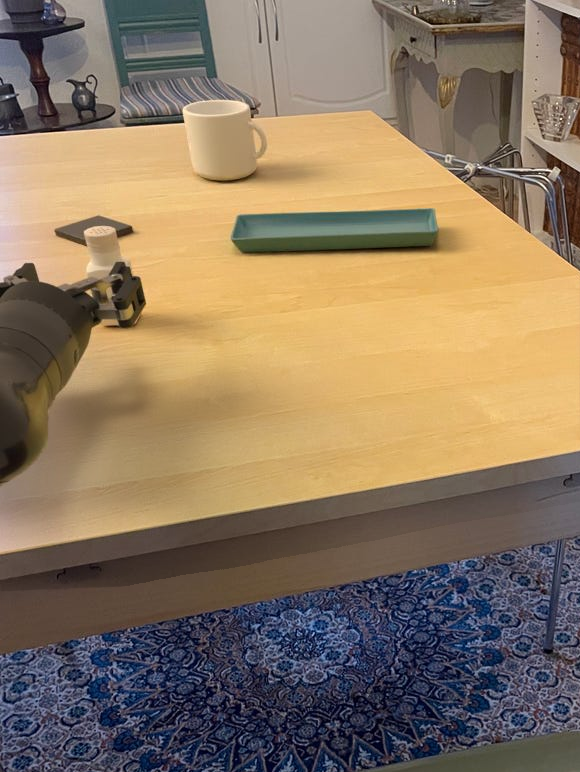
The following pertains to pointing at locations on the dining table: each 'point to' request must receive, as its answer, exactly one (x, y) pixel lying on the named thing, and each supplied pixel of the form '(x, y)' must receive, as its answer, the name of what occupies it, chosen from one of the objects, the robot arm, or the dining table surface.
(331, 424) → the dining table surface
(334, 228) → the rectangular tray
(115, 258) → the salt shaker
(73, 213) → the dining table surface
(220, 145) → the mug
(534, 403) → the dining table surface
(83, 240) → the coaster
